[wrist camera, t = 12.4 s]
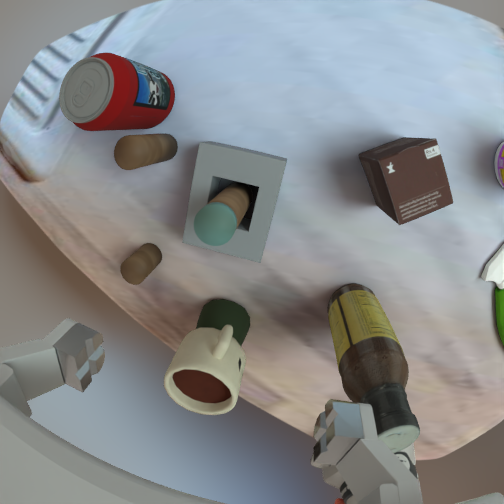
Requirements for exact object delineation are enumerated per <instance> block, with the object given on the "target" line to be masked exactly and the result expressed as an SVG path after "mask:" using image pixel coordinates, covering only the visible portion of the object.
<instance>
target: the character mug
mask: <svg viewBox="0 0 504 504" xmlns="http://www.w3.org/2000/svg"><path fill="white" fill-rule="evenodd" d="M249 327H250V317H249V315H248V313H247V312H246V310H245V308H244V307H242V306H240V305H238V304H237V303H235V302H232V301H228V300H224V299H220V300H212V301H210V302H209V303H207V304H205V305H204V307H203V309H202V311H201V313H200V316H199V320H198V323H197V327H196V329H195V330H192V331H190V332H189V333H188V334H187V335H186V337H185V338H184V339H183V340H182V342H181V344H180V346H179V348H178V350H177V352H176V354H175V356H174V358H173V360H172V362H171V364H170V366H169V368H168V370H167V372H166V374H165V377H164V387H165V389H166V391H167V393H168V395H169V396H170V397H171V398H172V399H173V400H174V401H175V402H176V403H177V404H179V405H180V406H182V407H184V408H185V409H187V410H189V411H192V412H196V413H199V414H205V415H206V414H207V415H217V414H223V413H226V412H228V411H230V410H231V409H233V408H234V407H235V405H236V401H237V398H238V394H239V389H240V384H241V379H242V375H243V371H244V367H245V363H246V357H245V353H244V350H243V349H242V348H241V345H242V343H243V341H244V339H245V337H246V335H247V333H248V330H249Z"/></svg>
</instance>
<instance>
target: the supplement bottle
mask: <svg viewBox="0 0 504 504" xmlns="http://www.w3.org/2000/svg"><path fill="white" fill-rule="evenodd" d="M494 167H495V173H496V177H497V179H498V181H499V183H500V185H501V186H502V187H503V188H504V142H502V143H501V144H500V146H499V147H498V149H497V151H496V154H495V161H494Z"/></svg>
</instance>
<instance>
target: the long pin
mask: <svg viewBox="0 0 504 504" xmlns="http://www.w3.org/2000/svg"><path fill="white" fill-rule="evenodd" d="M252 200H253V192H252V190H251V188H250V187H249V186H248V185H247V184H246V183H242V182H234V183H232V184H230V185H229V186H228V187H226V188H225V189H224V190H223V191H222V192H220V193H219V194H218V195H217V196H216V197H215V198H213V199H212V200H211V201H210V202H209V203H208V204H206V205H205V206H204V207H203V208H202V209H201V210H200V211H199V212H198V213H197V214H196V216H195V218H194V230H195V233H196V235H197V236H198V238H199V239H200V240H201V241H202V242H204V243H205V244H208V245H211V246H220V245H223V244H225V243H227V242H228V241H229V240H230V239H231V238H232V236H233V235H234V233H235V231H236V229H237V227H238V226H239V224H240V222H241V220H242V218H243V217H244V215H245V213H246V211H247V209H248V208H249V206H250V204H251V202H252Z"/></svg>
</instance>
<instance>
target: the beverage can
mask: <svg viewBox="0 0 504 504" xmlns="http://www.w3.org/2000/svg"><path fill="white" fill-rule="evenodd" d="M174 99H175V91H174V87H173V84H172V82H171V80H170V79H169V78H168V77H167V76H166V75H165V74H163V73H161V72H159V71H157V70H155V69H152V68H150V67H148V66H145V65H143V64H140V63H138V62H135V61H132V60H130V59H127V58H124V57H121V56H118V55H115V54H112V53H100V54H96V55H93V56H91V57H89V58H85V59H83V60H80V61H79V62H77V63H76V64H75V65H74V66H73V67H72V68H71V69H70V70H69V71H68V73H67V74H66V76H65V78H64V80H63V82H62V85H61V88H60V95H59V100H60V107H61V110H62V112H63V114H64V115H65V117H66V118H67V119H68V120H70V121H72V122H73V123H74V124H75V125H76V126H78V127H79V128H81V129H83V130H87V131H102V130H128V129H147V128H152V127H154V126H156V125H158V124H160V123H161V122H162V121H163V120H164V119H165V118H166V117H167V116H168V115H169V113H170V111H171V109H172V107H173V104H174Z"/></svg>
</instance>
